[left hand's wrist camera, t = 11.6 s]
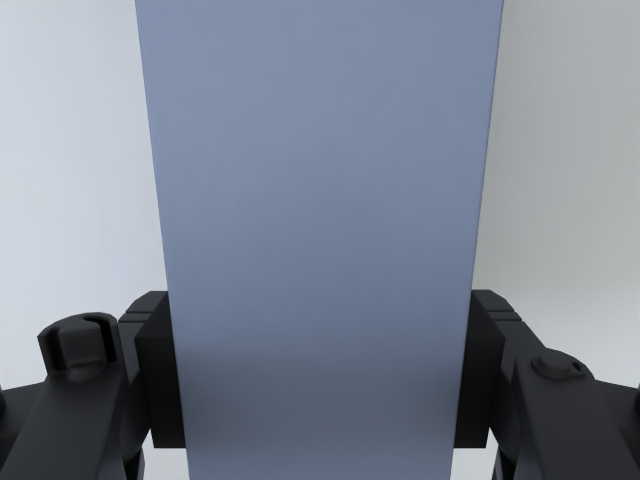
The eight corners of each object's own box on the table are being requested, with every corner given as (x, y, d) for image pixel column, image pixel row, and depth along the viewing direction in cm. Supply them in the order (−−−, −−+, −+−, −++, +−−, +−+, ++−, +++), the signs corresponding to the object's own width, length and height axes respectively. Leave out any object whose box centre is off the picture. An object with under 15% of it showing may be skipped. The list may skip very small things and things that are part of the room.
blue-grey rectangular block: (240, -107, 15) (64, -593, 5) (398, -107, 15) (574, -595, 4) (260, 318, 19) (195, 544, 9) (379, 318, 19) (444, 544, 9)
